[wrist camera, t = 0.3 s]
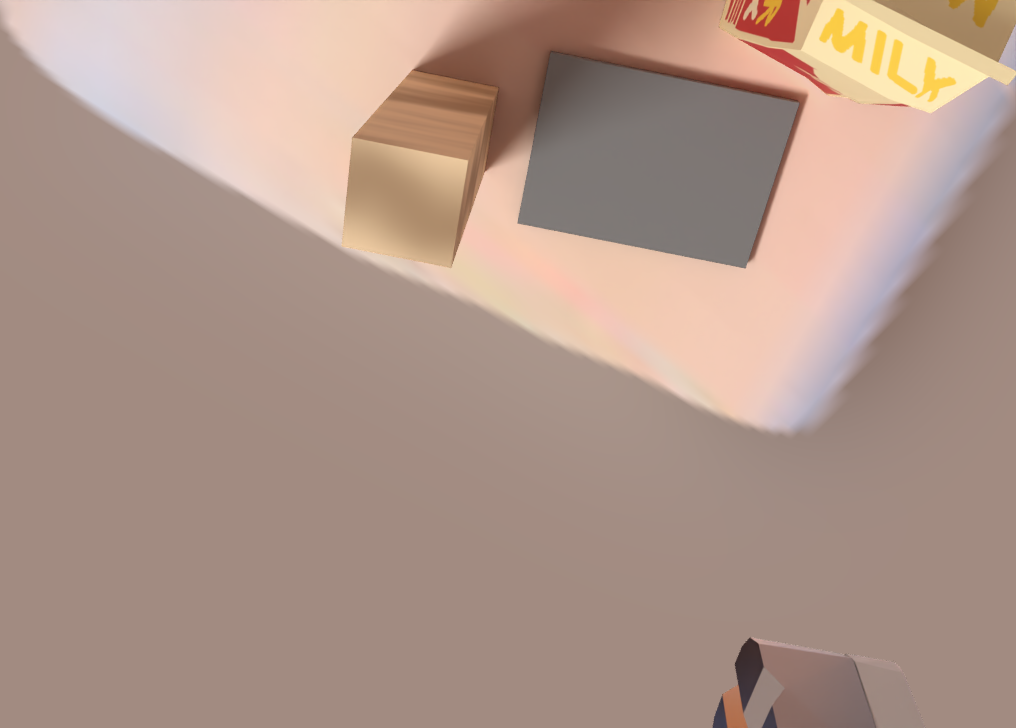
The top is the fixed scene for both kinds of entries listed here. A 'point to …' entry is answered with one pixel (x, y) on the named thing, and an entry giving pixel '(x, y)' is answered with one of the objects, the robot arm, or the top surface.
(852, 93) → the red figurine
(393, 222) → the block
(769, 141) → the mat
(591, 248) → the top surface
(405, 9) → the top surface
